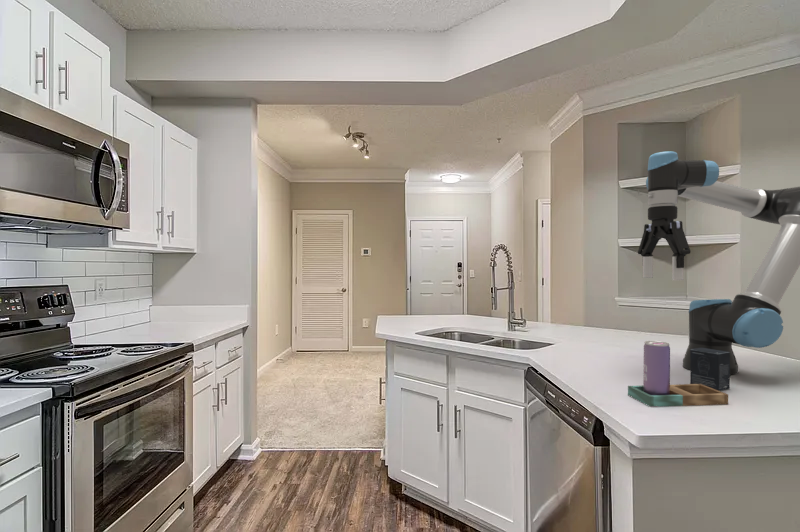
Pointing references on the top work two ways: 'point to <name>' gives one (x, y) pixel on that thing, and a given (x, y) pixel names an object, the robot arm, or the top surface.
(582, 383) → the top surface
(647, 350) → the beverage can
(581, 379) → the top surface
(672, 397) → the holder board
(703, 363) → the box
